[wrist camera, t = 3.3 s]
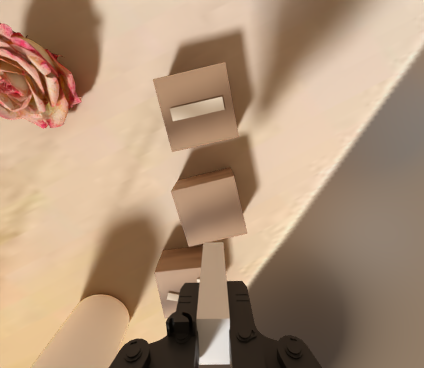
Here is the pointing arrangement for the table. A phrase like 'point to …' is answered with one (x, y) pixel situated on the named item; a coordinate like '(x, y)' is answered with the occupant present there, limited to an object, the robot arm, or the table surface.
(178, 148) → the marked block one
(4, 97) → the flower
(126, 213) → the table surface
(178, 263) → the marked block seven
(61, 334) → the potion bottle
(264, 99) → the table surface
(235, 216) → the plain block
